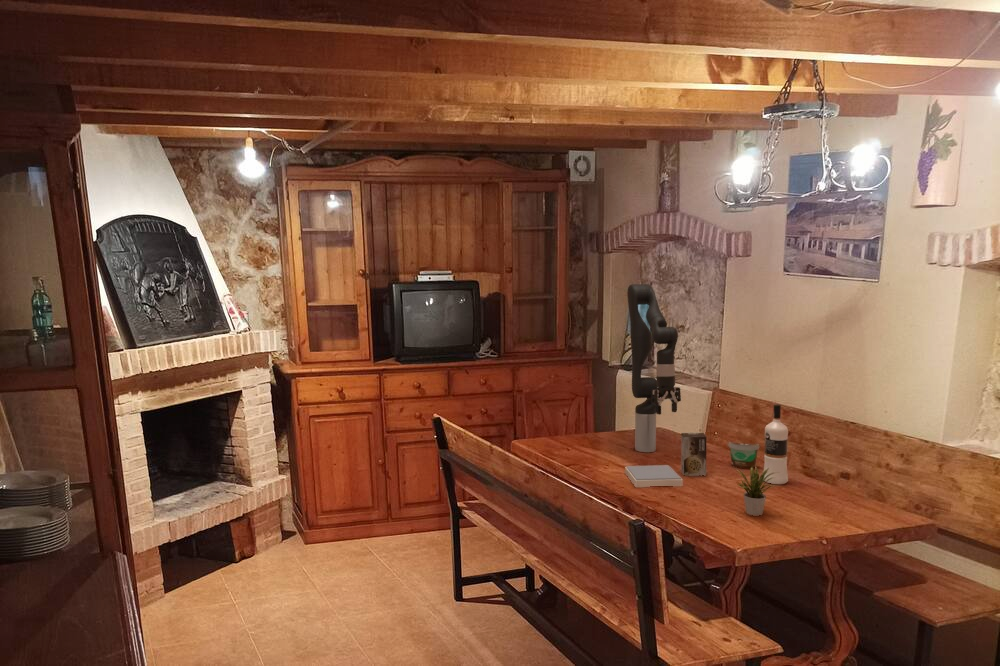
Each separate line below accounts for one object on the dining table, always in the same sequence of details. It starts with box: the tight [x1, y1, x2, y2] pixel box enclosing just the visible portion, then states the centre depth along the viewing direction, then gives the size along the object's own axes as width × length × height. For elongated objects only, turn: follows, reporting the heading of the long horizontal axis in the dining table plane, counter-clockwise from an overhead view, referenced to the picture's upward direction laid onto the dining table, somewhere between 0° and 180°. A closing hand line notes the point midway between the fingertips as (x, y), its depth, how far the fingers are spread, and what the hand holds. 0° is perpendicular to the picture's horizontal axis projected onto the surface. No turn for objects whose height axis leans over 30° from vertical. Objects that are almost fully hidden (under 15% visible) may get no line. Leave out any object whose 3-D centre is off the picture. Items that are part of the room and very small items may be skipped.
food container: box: [727, 441, 761, 470], centre depth 287 cm, size 12×6×10 cm, turn 68°
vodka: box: [762, 404, 789, 485], centre depth 267 cm, size 9×9×30 cm
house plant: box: [735, 465, 777, 517], centre depth 233 cm, size 14×14×16 cm
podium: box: [624, 464, 684, 488], centre depth 273 cm, size 18×18×3 cm
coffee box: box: [680, 432, 707, 477], centre depth 279 cm, size 9×6×16 cm
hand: (666, 413), depth 292 cm, fingers open, 8 cm apart
